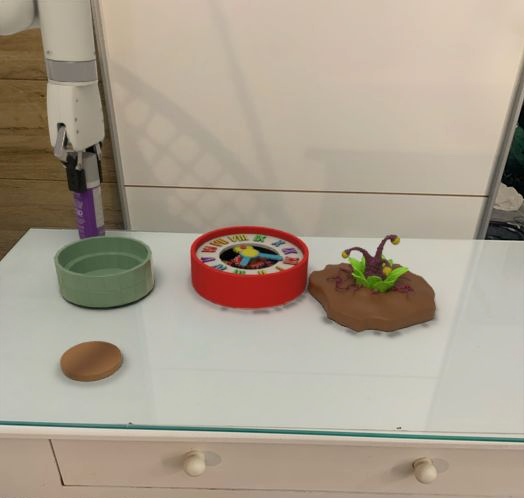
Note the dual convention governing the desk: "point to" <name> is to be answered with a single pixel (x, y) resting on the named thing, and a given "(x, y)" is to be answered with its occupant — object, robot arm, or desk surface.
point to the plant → (373, 292)
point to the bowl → (104, 271)
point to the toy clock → (249, 267)
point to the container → (89, 200)
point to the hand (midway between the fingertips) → (86, 185)
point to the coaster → (91, 361)
